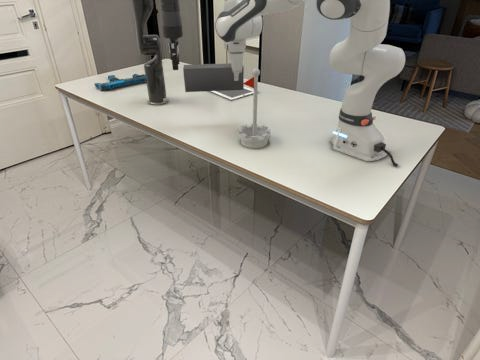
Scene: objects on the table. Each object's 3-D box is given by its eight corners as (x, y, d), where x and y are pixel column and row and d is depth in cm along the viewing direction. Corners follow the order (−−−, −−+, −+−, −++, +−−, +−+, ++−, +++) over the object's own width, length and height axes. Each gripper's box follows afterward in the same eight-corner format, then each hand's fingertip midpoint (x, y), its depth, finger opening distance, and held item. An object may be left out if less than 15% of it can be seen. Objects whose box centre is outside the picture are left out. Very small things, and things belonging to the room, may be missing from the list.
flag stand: (262, 133, 147) (264, 62, 131) (275, 146, 137) (280, 71, 121) (234, 138, 144) (233, 65, 127) (245, 151, 133) (246, 74, 117)
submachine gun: (139, 68, 225) (157, 74, 208) (140, 74, 227) (158, 80, 210) (87, 78, 206) (102, 86, 190) (88, 84, 208) (104, 92, 192)
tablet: (197, 86, 202) (197, 85, 202) (223, 79, 213) (223, 79, 213) (231, 100, 182) (231, 99, 181) (258, 92, 193) (258, 91, 193)
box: (242, 85, 149) (242, 63, 143) (243, 90, 144) (243, 66, 138) (186, 87, 147) (183, 64, 141) (185, 92, 142) (183, 68, 136)
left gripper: (163, 21, 135) (168, 62, 144) (160, 27, 123) (165, 72, 132) (182, 20, 135) (186, 62, 144) (181, 26, 124) (185, 71, 132)
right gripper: (225, 38, 144) (226, 71, 152) (228, 49, 127) (229, 85, 135) (240, 38, 145) (240, 70, 152) (245, 48, 128) (245, 84, 135)
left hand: (176, 67), depth 138 cm, fingers open, 8 cm apart
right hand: (235, 77), depth 143 cm, fingers closed on box, 6 cm apart
